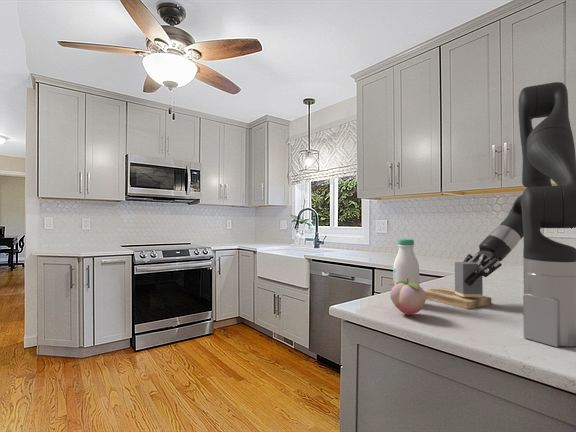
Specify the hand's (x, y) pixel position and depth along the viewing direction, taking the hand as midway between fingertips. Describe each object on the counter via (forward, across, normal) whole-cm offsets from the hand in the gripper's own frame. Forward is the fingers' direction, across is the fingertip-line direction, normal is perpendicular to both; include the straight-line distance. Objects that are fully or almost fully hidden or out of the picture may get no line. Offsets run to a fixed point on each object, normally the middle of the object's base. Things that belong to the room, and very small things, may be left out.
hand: (462, 281), depth 100 cm
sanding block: (+2, 0, +4) cm, 4 cm away
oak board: (+5, -5, +5) cm, 8 cm away
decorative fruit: (+20, +11, -10) cm, 25 cm away
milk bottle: (+17, -1, -7) cm, 19 cm away
